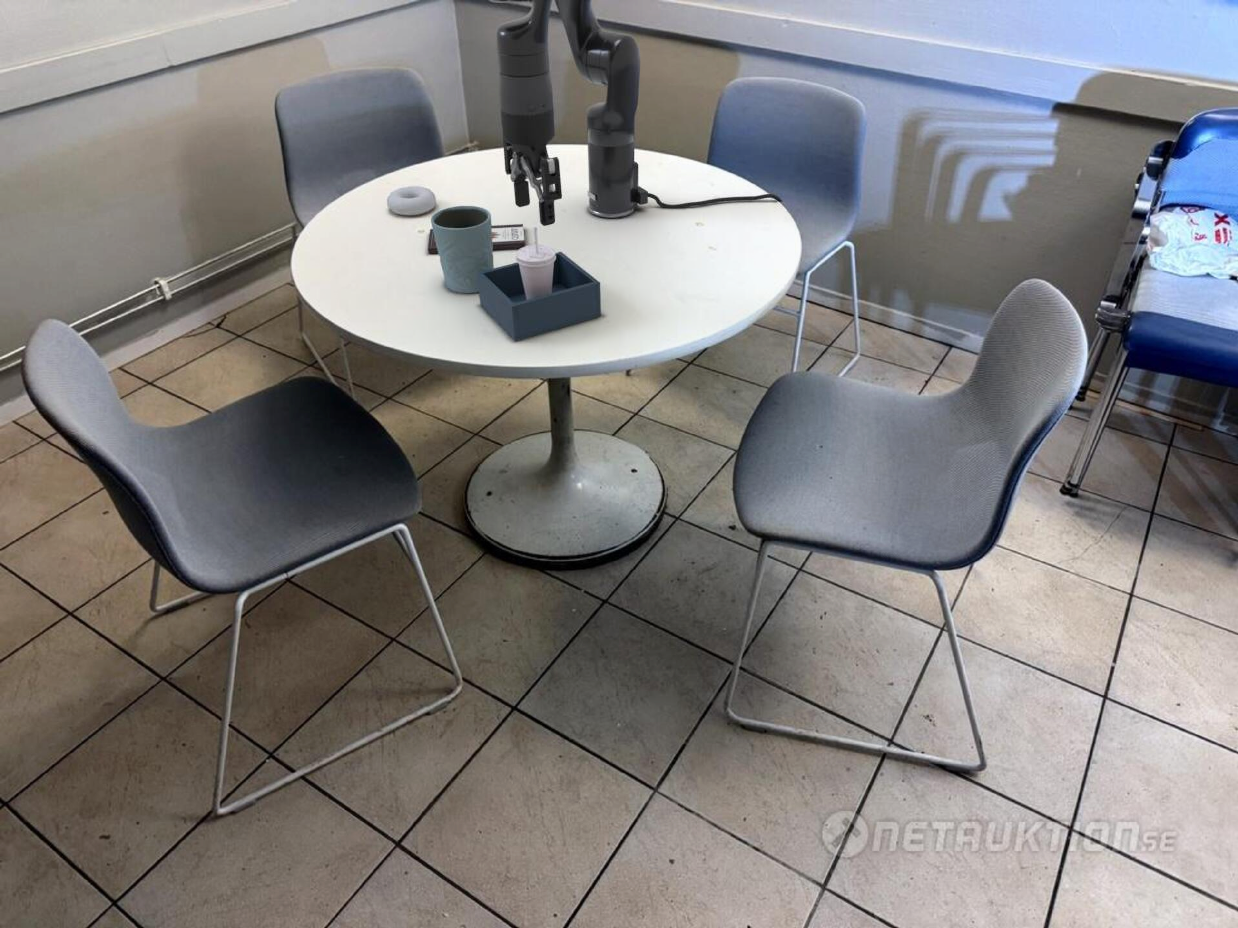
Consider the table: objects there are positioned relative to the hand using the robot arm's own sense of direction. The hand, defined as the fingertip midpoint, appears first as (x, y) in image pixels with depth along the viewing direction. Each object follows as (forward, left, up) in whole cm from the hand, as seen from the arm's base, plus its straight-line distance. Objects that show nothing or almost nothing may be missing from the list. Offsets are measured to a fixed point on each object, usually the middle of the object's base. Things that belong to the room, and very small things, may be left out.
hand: (535, 214), depth 128 cm
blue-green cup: (+6, -16, -17) cm, 24 cm away
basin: (0, 0, -17) cm, 17 cm away
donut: (+3, -53, -17) cm, 56 cm away
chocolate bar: (-2, -31, -17) cm, 35 cm away
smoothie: (0, 0, -16) cm, 16 cm away
